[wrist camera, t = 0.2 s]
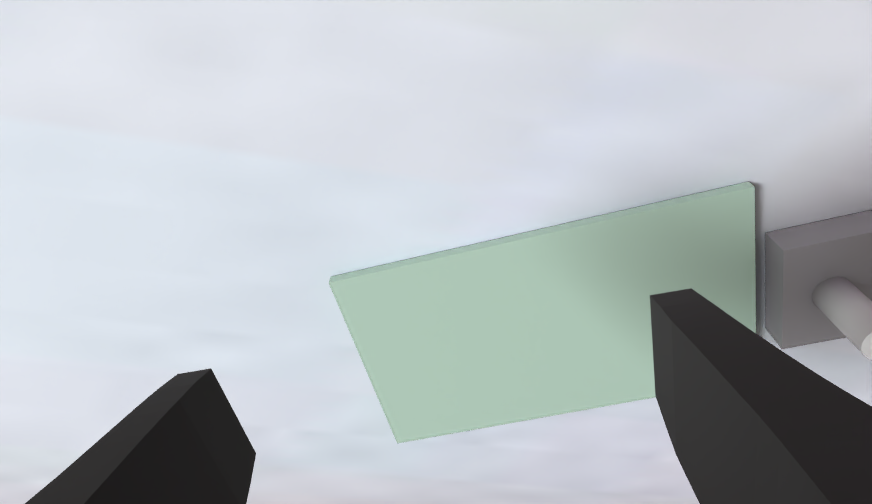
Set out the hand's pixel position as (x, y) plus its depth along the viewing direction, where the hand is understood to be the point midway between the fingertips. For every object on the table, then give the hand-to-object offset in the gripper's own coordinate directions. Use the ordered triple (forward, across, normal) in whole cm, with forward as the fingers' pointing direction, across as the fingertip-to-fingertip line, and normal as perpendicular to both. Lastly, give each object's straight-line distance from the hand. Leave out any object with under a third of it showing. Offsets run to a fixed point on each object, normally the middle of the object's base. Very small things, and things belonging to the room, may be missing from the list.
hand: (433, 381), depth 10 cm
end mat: (+10, -2, +7) cm, 12 cm away
